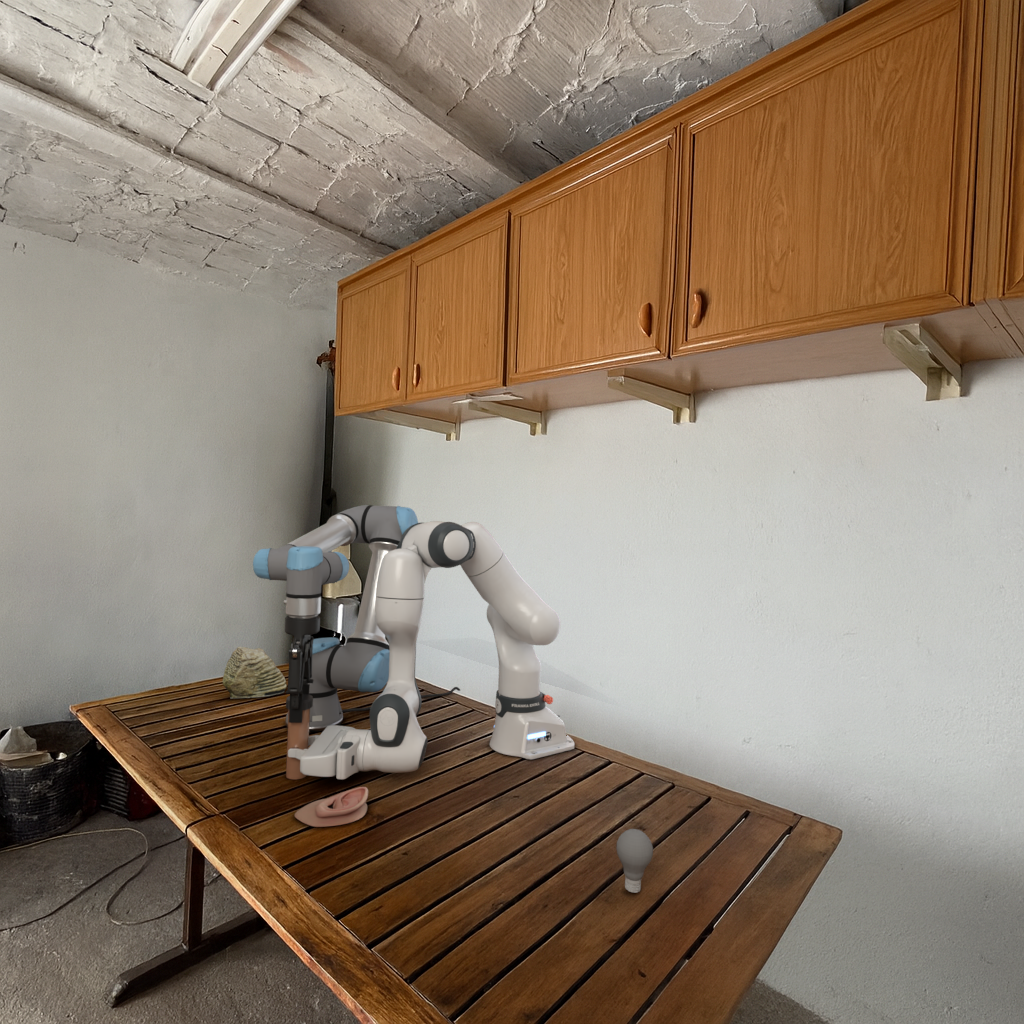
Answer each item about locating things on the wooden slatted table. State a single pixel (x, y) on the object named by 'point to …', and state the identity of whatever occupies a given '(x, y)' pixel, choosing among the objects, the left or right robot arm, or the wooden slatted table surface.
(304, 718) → the jar
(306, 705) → the lid
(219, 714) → the wooden slatted table surface
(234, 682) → the fossil
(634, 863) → the light bulb
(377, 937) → the wooden slatted table surface
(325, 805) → the anatomical model
